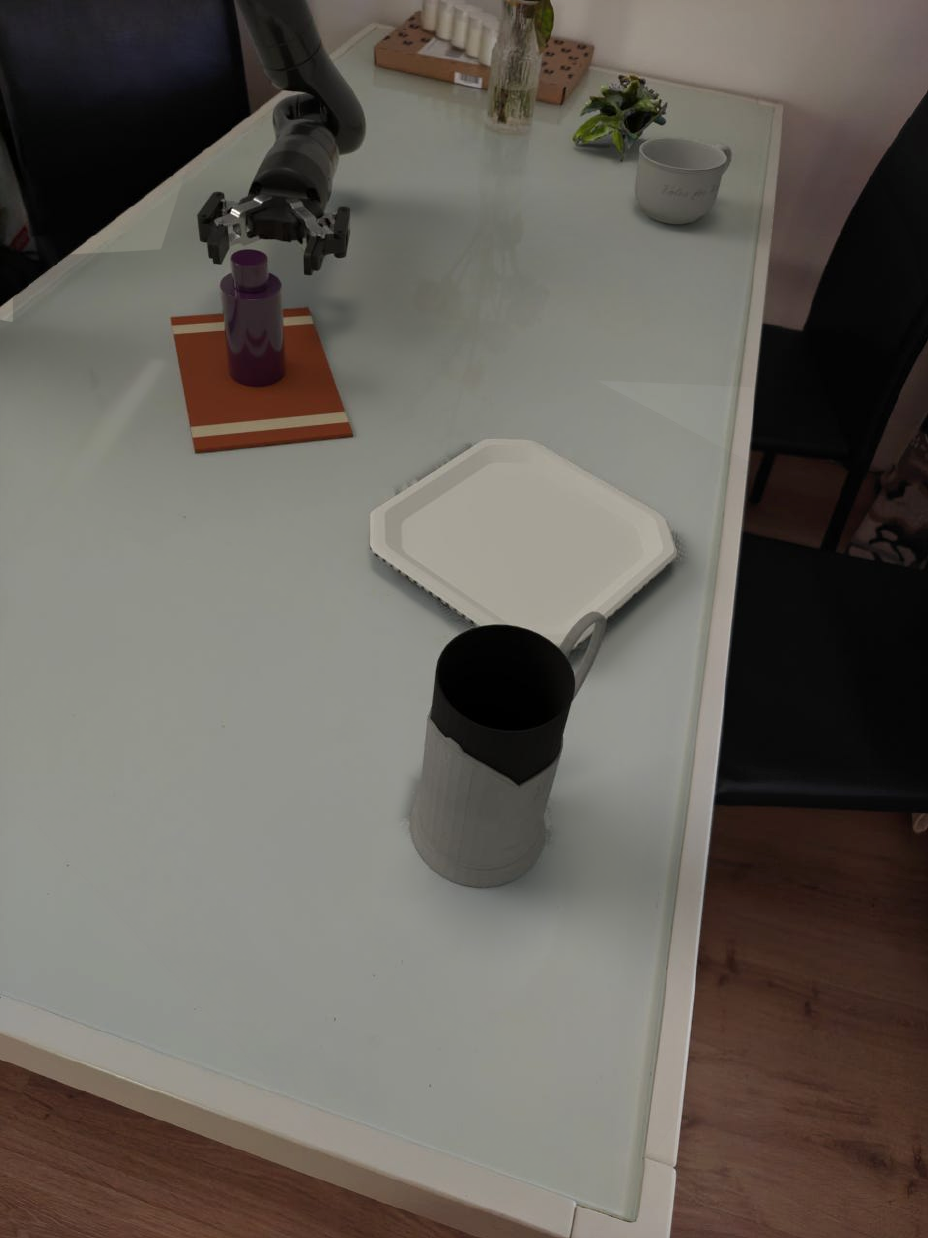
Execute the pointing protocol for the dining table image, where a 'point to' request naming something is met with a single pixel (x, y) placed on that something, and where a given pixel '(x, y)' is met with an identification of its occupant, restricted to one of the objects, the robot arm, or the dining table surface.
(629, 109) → the green leafy clump
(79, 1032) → the dining table surface
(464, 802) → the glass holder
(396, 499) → the plate
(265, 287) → the bottle
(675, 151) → the teacup
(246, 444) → the towel
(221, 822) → the dining table surface
